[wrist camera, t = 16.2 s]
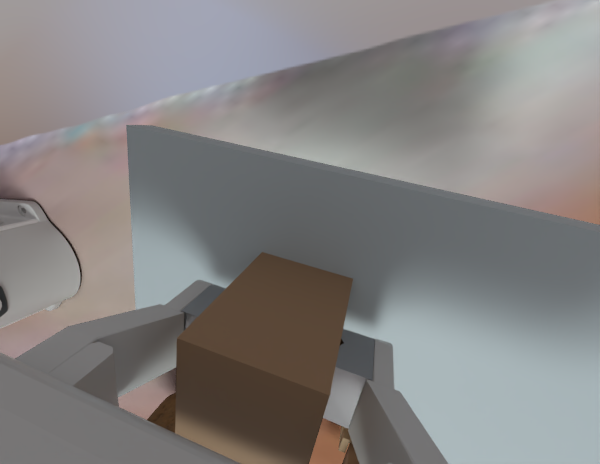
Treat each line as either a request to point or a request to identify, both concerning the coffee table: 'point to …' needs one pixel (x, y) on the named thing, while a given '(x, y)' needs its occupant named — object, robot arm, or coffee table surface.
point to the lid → (365, 302)
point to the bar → (350, 456)
